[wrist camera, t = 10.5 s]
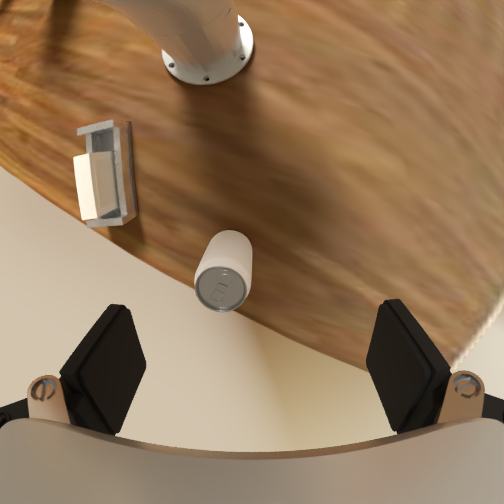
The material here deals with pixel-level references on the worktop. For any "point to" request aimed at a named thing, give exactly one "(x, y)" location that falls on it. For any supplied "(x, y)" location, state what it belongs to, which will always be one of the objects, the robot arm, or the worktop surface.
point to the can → (225, 272)
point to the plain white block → (96, 183)
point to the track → (120, 141)
